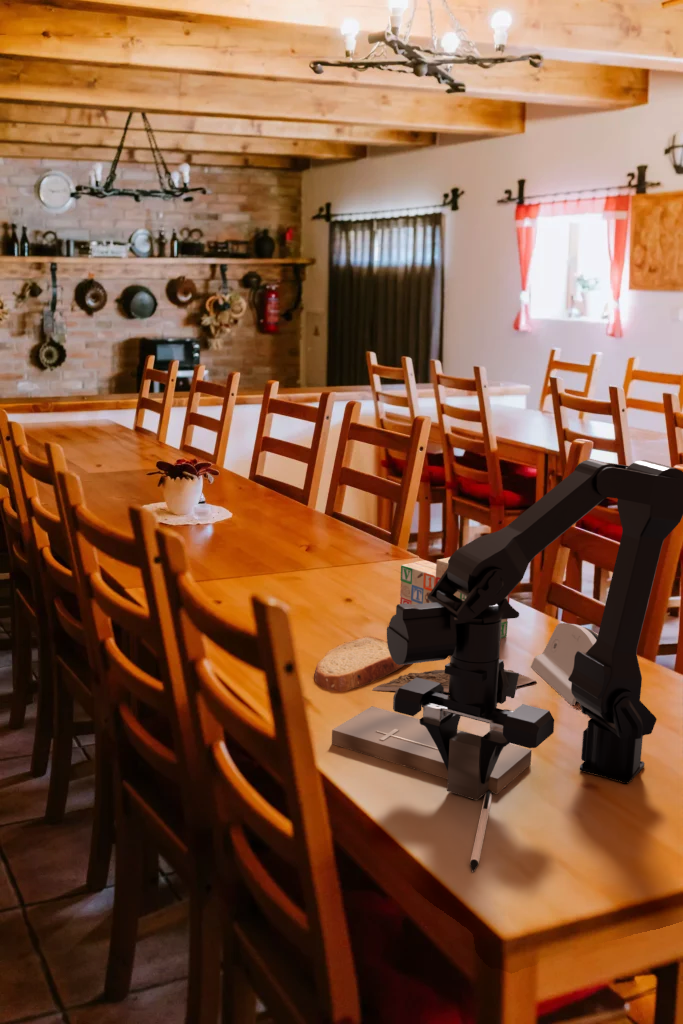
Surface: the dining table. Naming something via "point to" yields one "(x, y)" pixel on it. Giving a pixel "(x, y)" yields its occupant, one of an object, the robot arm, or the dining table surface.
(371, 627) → the dining table surface
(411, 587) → the stack of blocks
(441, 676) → the wooden fragment
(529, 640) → the dining table surface
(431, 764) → the gray rectangular board
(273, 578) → the dining table surface
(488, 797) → the pen
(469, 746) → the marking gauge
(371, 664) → the bread slice
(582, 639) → the beige ledged stand
